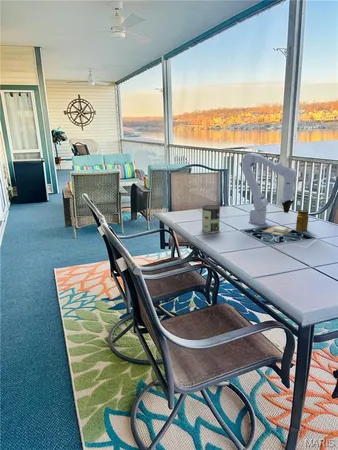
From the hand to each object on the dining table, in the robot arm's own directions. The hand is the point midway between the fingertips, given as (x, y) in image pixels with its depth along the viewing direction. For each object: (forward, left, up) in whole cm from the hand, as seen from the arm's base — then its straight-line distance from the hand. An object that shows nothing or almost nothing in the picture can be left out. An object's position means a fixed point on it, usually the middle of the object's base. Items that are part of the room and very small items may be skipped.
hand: (286, 212), depth 191 cm
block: (+2, -8, -7) cm, 11 cm away
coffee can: (-30, -34, -9) cm, 47 cm away
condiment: (+11, -2, -9) cm, 15 cm away
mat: (+1, -11, -9) cm, 14 cm away
